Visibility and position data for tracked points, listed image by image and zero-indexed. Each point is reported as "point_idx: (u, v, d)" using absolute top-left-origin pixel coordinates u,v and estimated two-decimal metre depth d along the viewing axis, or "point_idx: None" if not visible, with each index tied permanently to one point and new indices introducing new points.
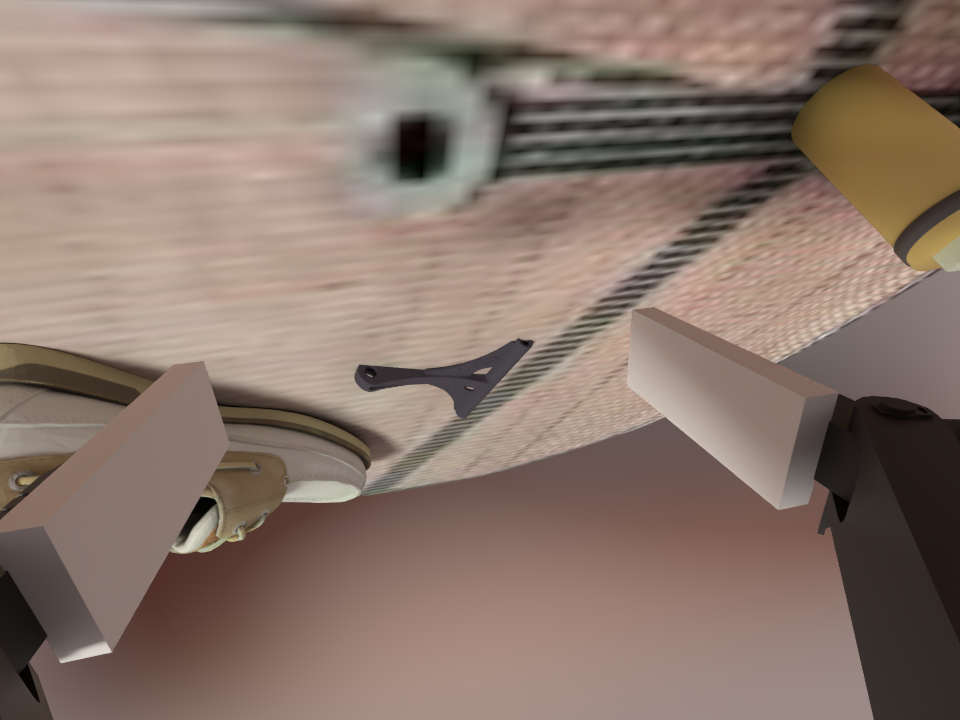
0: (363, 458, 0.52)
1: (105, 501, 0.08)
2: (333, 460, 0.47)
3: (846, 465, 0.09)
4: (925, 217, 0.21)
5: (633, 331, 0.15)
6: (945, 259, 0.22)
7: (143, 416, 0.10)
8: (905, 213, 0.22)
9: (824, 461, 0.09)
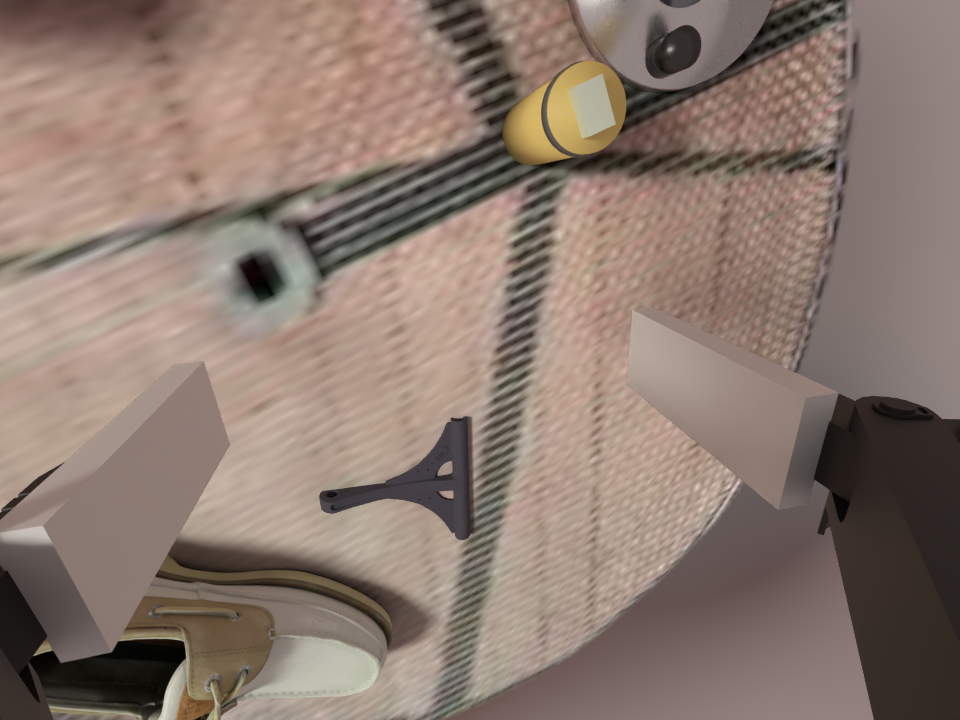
0: (377, 620, 0.48)
1: (105, 501, 0.08)
2: (332, 615, 0.45)
3: (846, 465, 0.09)
4: (543, 120, 0.28)
5: (633, 331, 0.15)
6: (583, 132, 0.27)
7: (143, 416, 0.10)
8: (541, 130, 0.29)
9: (825, 461, 0.09)
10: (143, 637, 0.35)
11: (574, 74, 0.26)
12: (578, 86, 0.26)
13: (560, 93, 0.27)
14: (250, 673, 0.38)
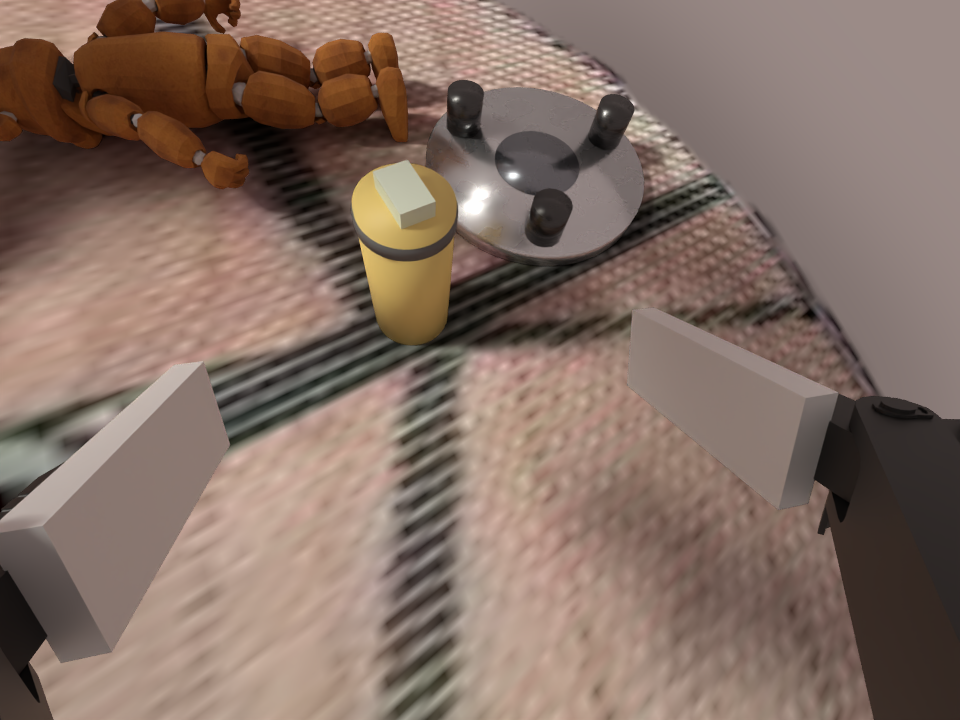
0: None
1: (105, 501, 0.08)
2: None
3: (846, 465, 0.09)
4: (354, 226, 0.22)
5: (633, 331, 0.15)
6: (397, 217, 0.21)
7: (143, 416, 0.10)
8: (362, 244, 0.23)
9: (825, 461, 0.09)
10: None
11: None
12: (377, 171, 0.21)
13: (365, 190, 0.22)
14: None
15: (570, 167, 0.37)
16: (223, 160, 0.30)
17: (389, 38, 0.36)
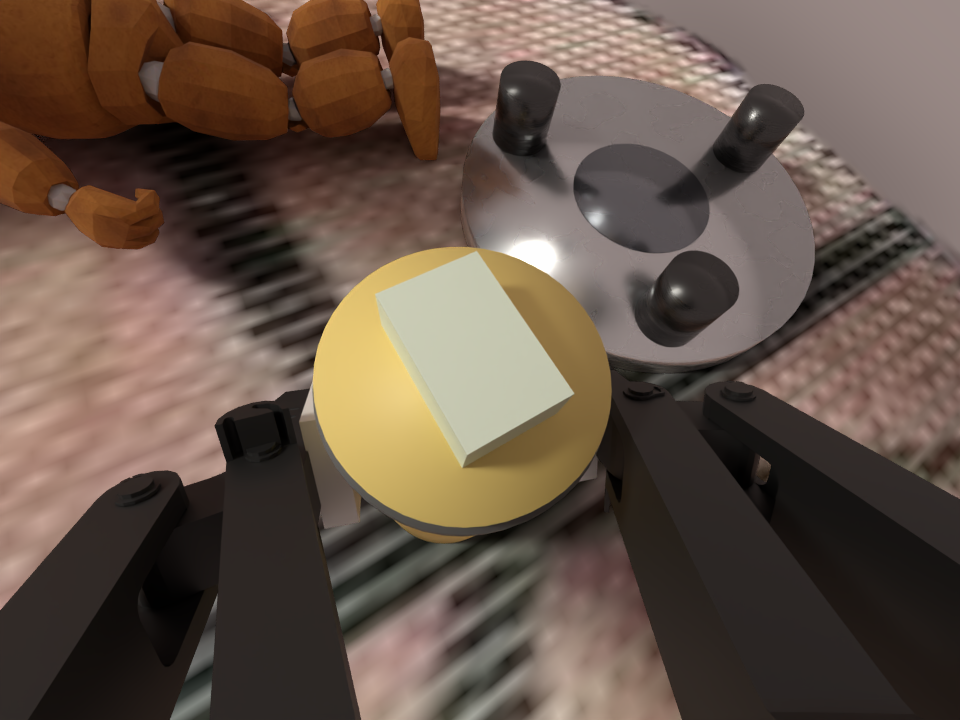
0: None
1: None
2: None
3: (614, 448, 0.10)
4: None
5: None
6: (453, 442, 0.07)
7: None
8: None
9: None
10: None
11: (399, 282, 0.08)
12: (390, 292, 0.07)
13: (354, 336, 0.08)
14: None
15: (694, 202, 0.23)
16: (105, 203, 0.16)
17: None
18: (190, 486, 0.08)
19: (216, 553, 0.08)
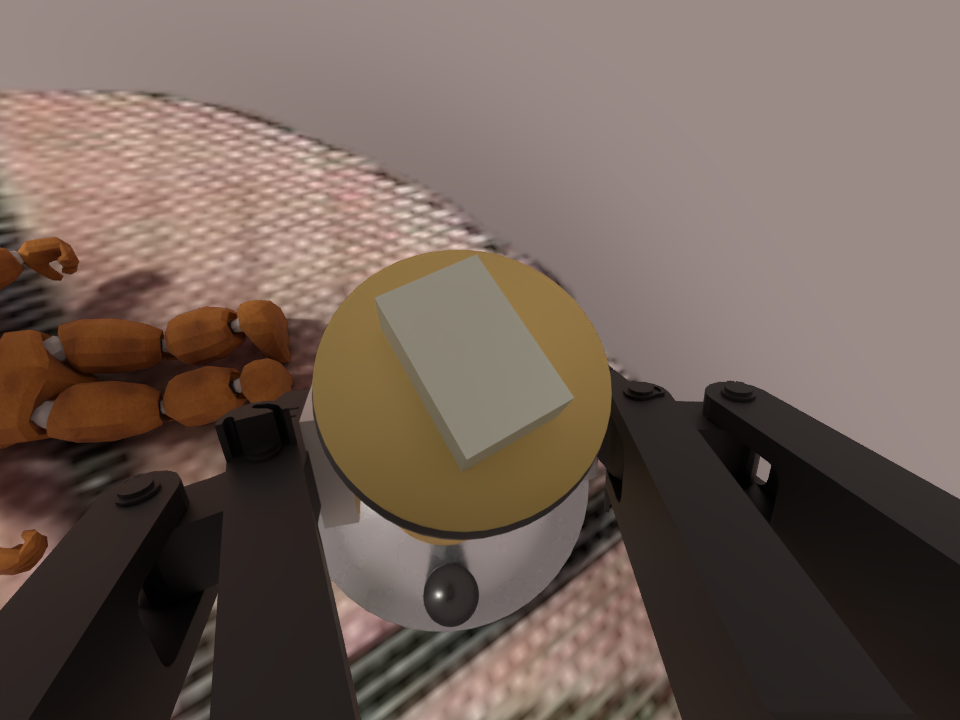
0: None
1: None
2: None
3: (614, 448, 0.10)
4: None
5: None
6: (453, 446, 0.07)
7: None
8: None
9: None
10: None
11: (398, 286, 0.08)
12: (390, 296, 0.07)
13: (353, 339, 0.08)
14: None
15: None
16: None
17: (261, 312, 0.27)
18: (190, 486, 0.08)
19: (216, 553, 0.08)
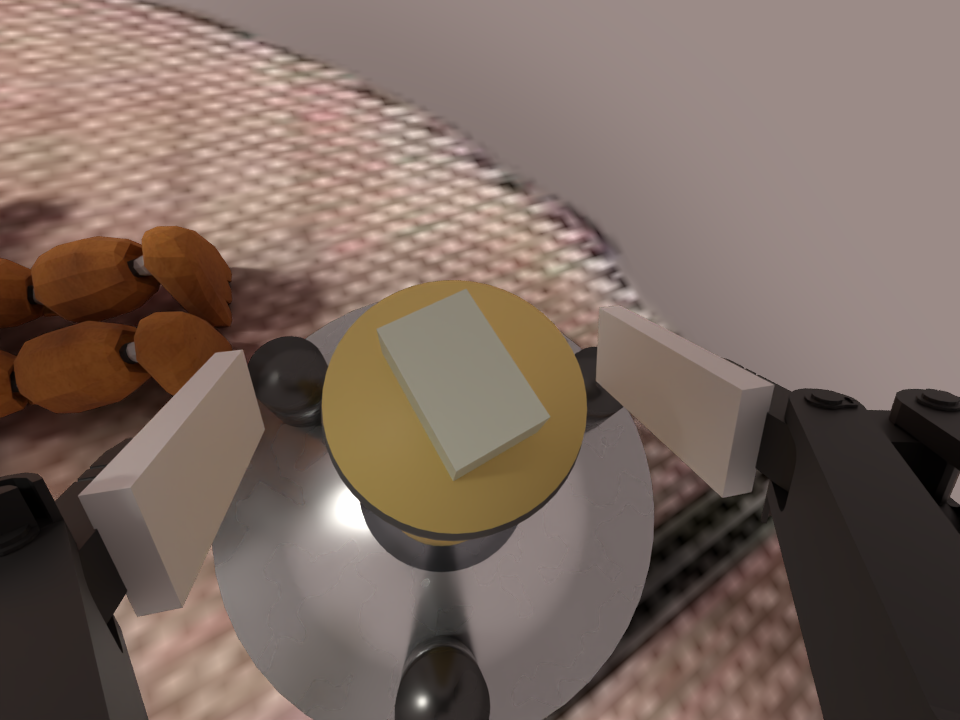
0: None
1: (173, 471, 0.09)
2: None
3: (783, 456, 0.09)
4: None
5: (600, 328, 0.15)
6: (445, 459, 0.07)
7: (198, 397, 0.10)
8: None
9: (764, 450, 0.10)
10: None
11: (398, 314, 0.09)
12: (390, 327, 0.08)
13: (358, 363, 0.09)
14: None
15: None
16: None
17: (174, 241, 0.18)
18: None
19: None
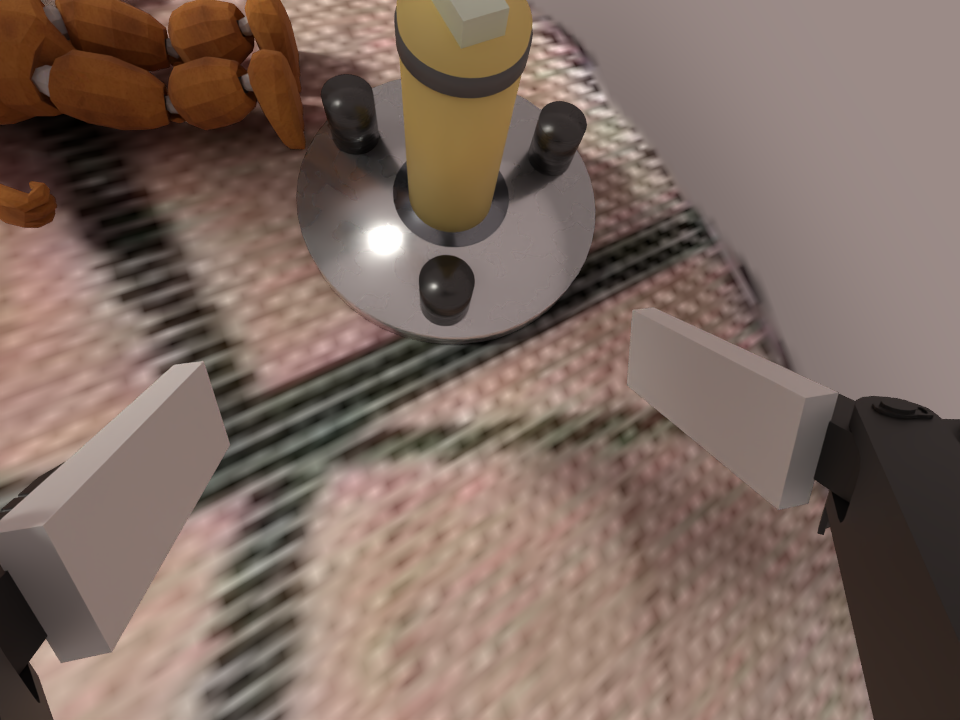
0: None
1: (105, 501, 0.08)
2: None
3: (846, 465, 0.09)
4: (398, 47, 0.17)
5: (633, 331, 0.15)
6: (457, 28, 0.16)
7: (143, 416, 0.10)
8: (405, 76, 0.18)
9: (825, 460, 0.09)
10: None
11: None
12: None
13: None
14: None
15: (497, 202, 0.27)
16: (2, 197, 0.21)
17: (270, 2, 0.25)
18: None
19: None
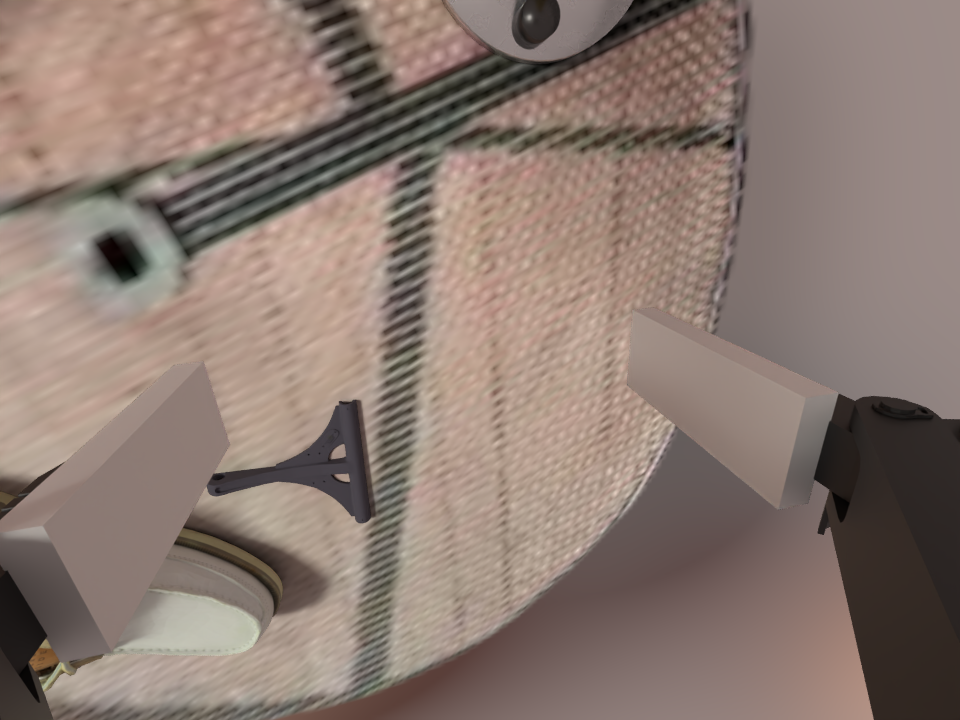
0: (263, 581, 0.47)
1: (105, 501, 0.08)
2: (210, 572, 0.43)
3: (846, 465, 0.09)
4: None
5: (633, 331, 0.15)
6: None
7: (143, 416, 0.10)
8: None
9: (824, 461, 0.09)
10: None
11: None
12: None
13: None
14: None
15: None
16: None
17: None
18: None
19: None
